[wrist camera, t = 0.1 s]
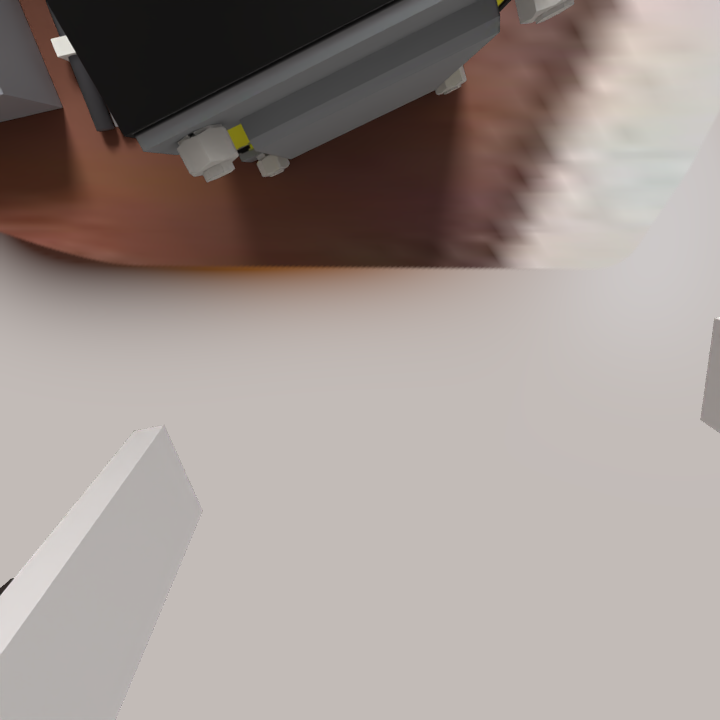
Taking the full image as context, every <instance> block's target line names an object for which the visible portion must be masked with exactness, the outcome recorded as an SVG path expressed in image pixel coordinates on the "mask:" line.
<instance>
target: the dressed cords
mask: <svg viewBox="0 0 720 720" xmlns="http://www.w3.org/2000/svg"><path fill="white" fill-rule="evenodd" d="M46 3H47V2H46ZM47 5H48V4H47ZM48 8H49V11H50V13H51V16H52V18H53V21H54V23H55V26H56V28H57V31H58V33H59V36H60V37H57V38H53V39H51V42H52V44H53V47H54V49H55V52H56V54H57V57H59V58H62V59H64V60H67V61H69V62H70V64H71V66H72V69H73V71H74V74H75V76H76V79H77V82H78V84H79V87H80V89H81V92H82V94H83V97H84V99H85V102H86V104H87V107H88V109H89V112H90V114H91V117H92V120H93V122H94V125H95V127H96V130H97V131H107V130H112V129H114V125H115V127H118V125H117V123H116V121H115V120H114V118H113V116H112V114H111V113H110V114H111V117H112V119H113V122H114V125H113V123H112V120H111V117H110V115H109V112H108V110H107V107H106V104H105V102H104V101H103V99H102V97H101V95H100V94H99V92H98V90H97V88H96V87H95V85H94V83H93V82H92V80H91V78H90V76H89V75H88V73H87V71H86V69H85V68H84V66H83V64H82V63H81V61H80V59H79V57H78V56H77V54H76V52H75V50H74V49H73V47H72V45H71V43H70V42H69V40H68V38H67V37H66V35H65V33H64V31H63V30H62V28H61V26H60V24H59V23H58V21H57V19H56V17H55V16H54V14H53V12H52V11H51V9H50V7H49V5H48Z"/></svg>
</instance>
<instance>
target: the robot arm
mask: <svg viewBox="0 0 720 720" xmlns="http://www.w3.org/2000/svg"><path fill="white" fill-rule="evenodd" d="M701 420H702V421H703V422H705V423H706V424H707V425H709V426H710V427H712V428H713V429H715V430H716V431H717V432H719V433H720V317H718V318H715V319H714V326H713V333H712V340H711V348H710V355H709V362H708V369H707V376H706V383H705V391H704V398H703V405H702V413H701ZM202 511H203V510H202V508H201V506H200V504H199V501H198V499H197V497H196V495H195V492H194V491H193V488H192V486H191V484H190V481H189V479H188V477H187V475H186V473H185V470H184V468H183V466H182V463H181V461H180V459H179V457H178V455H177V452H176V450H175V448H174V446H173V443H172V441H171V439H170V437H169V435H168V432H167V430H166V428H165V426H164V425H161V426H156V427H151V428H146V429H140V430H135V431H133V433H132V434H131V435H130V436H129V438H128V439H127V440H126V441H125V443H124V444H123V445H122V446H121V447H120V449H119V450H118V451H117V452H116V454H115V455H114V456H113V457H112V459H111V460H110V461H109V462H108V463H107V465H106V466H105V467H104V469H103V470H102V471H101V472H100V473H99V475H98V476H97V477H96V478H95V480H94V481H93V482H92V483H91V485H90V486H89V487H88V488H87V489H86V491H85V492H84V493H83V494H82V496H81V497H80V498H79V499H78V500H77V502H76V503H75V504H74V505H73V507H72V508H71V509H70V510H69V512H68V513H67V514H66V515H65V516H64V518H63V519H62V520H61V522H60V523H59V524H58V525H57V526H56V528H55V529H54V530H53V531H52V533H51V534H50V535H49V536H48V538H47V539H46V540H45V541H44V542H43V544H42V545H41V546H40V547H39V549H38V550H37V551H36V552H35V553H34V555H33V556H32V557H31V558H30V560H29V561H28V562H27V563H26V564H25V566H24V567H23V568H22V570H21V571H20V572H19V573H18V574H17V576H16V577H15V578H12V579H10V580H9V581H8V582H7V583H6V584H5V585H3V586H2V587H1V588H0V720H116V718H117V715H118V712H119V710H120V708H121V706H122V703H123V701H124V698H125V696H126V693H127V691H128V689H129V686H130V684H131V681H132V679H133V676H134V674H135V672H136V670H137V667H138V665H139V662H140V660H141V658H142V655H143V653H144V650H145V648H146V646H147V643H148V641H149V638H150V636H151V634H152V631H153V629H154V627H155V624H156V621H157V619H158V617H159V615H160V612H161V610H162V607H163V605H164V602H165V600H166V598H167V595H168V593H169V591H170V588H171V586H172V583H173V581H174V578H175V576H176V574H177V571H178V569H179V567H180V564H181V562H182V559H183V557H184V555H185V552H186V550H187V547H188V545H189V543H190V540H191V538H192V535H193V533H194V531H195V528H196V526H197V523H198V521H199V518H200V516H201V514H202Z"/></svg>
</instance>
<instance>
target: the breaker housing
mask: <svg viewBox="0 0 720 720" xmlns="http://www.w3.org/2000/svg"><path fill="white" fill-rule="evenodd" d="M59 108H63V107H62V104H61V102H60V100H59V97H58V95H57V92H56V90H55V87H54V85H53V83H52V80H51V78H50V75H49V73H48V71H47V68H46V66H45V63H44V61H43V59H42V56H41V54H40V51H39V49H38V46H37V44H36V42H35V39H34V37H33V34H32V32H31V30H30V27H29V25H28V22H27V20H26V18H25V15H24V13H23V10H22V8H21V5H20V3H19V1H18V0H0V122H3V121H8V120H12V119H16V118H21V117H25V116H29V115H33V114H38V113H42V112H46V111H51V110H55V109H59Z"/></svg>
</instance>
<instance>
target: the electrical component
mask: <svg viewBox="0 0 720 720" xmlns="http://www.w3.org/2000/svg"><path fill="white" fill-rule="evenodd" d="M510 1H511V0H46V2H47V4H48V5H49V7H50V9H51V11H52V12H53V14H54V16H55V17H56V19H57V21H58V23H59V24H60V26H61V28H62V30H63V31H64V33H65V35H66V37H67V38H68V40H69V42H70V43H71V45H72V47H73V49H74V50H75V52H76V54H77V56H78V57H79V59H80V61H81V63H82V64H83V66H84V68H85V69H86V71H87V73H88V75H89V76H90V78H91V80H92V82H93V83H94V85H95V87H96V88H97V90H98V92H99V94H100V95H101V97H102V99H103V101H104V102H105V104H106V106H107V108H108V109H109V111H110V113H111V114H112V116H113V118H114V120H115V121H116V123H117V125H118V127H119V128H120V130H121V132H122V134H123V135H124V136H126V137H132V138H136V139H137V141H138V143H139V144H140V146H141V148H142V150H143V151H144V152H153V153H163V154H173V155H179V154H180V156H181V158H182V160H183V162H184V164H185V165H186V167H187V169H188V171H189V173H190V174H191V175H193V176H194V177H195V176H201V175H203V176H204V178H205V180H206V182H209V181H212V180H215V179H218V178H220V177H222V176H224V175H226V174H228V173H230V172H232V171H233V170H234V169H235V167H234V165H233V163H232V162H233V161H234V160H235V159H236V158H237V157H238V156H239V157H240V159H241V161H242V162H254V161H256V160H258V162H257V166H258V168H259V170H260V172H261V174H262V177H268V176H270V177H273V176H275V175H277V174H279V173H281V172H283V171H284V169H285V168H287V167H288V166H289V164H290V163H289V161H288V159H293V158H295V157H297V156H299V155H301V154H303V153H305V152H307V151H309V150H311V149H313V148H316V147H318V146H320V145H322V144H324V143H326V142H328V141H330V140H332V139H334V138H336V137H338V136H341V135H343V134H345V133H347V132H349V131H351V130H353V129H355V128H357V127H359V126H361V125H363V124H366V123H368V122H370V121H372V120H374V119H376V118H378V117H380V116H382V115H384V114H386V113H388V112H391V111H393V110H395V109H397V108H399V107H401V106H403V105H405V104H407V103H409V102H411V101H413V100H416V99H418V98H420V97H422V96H424V95H426V94H428V93H430V92H432V91H434V90H435V92H436V94H437V95H440V94H443V93H444V95H445V94H448V93H450V92H452V91H454V90H456V89H458V88H459V87H461V84H463V83H464V82H465V81H466V80H467V79H466V75H465V72H464V68H463V64H465V63H466V62H467V61H468V60H469V59H470V58H471V57H472V56H473V55H475V54H476V53H477V52H478V51H479V50H480V49H481V48H482V47H483V46H485V45H486V44H487V43H488V42H489V41H490V40H491V39H492V38H494V37H495V36H496V35H497V34H498V33H499V32H500V13H499V12H500V11H501V10H502V9H503V8H504V7H505V6H506V5H507V4H508V3H509V2H510ZM515 2H516V7H517V11H518V16H519V20H520V24H528V23H532V22H534V21H536V24H538V23H540V22H543V21H545V20H547V19H549V18H551V17H553V16H555V15H557V14H559V13H561V12H562V11H564V10H565V9H567V8H569V7H570V6H572V5H573V4H574V0H515Z"/></svg>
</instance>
